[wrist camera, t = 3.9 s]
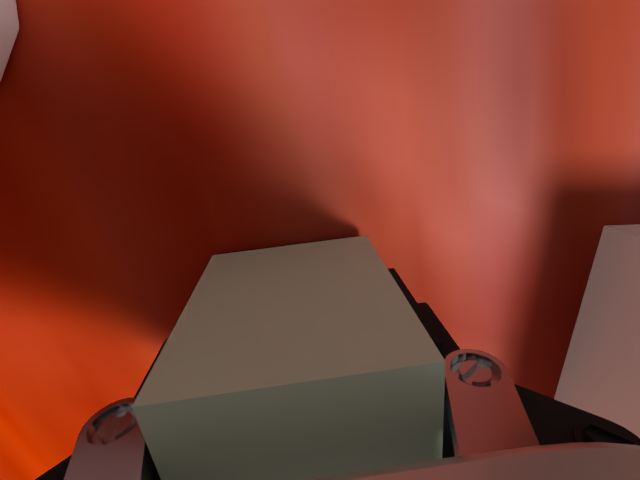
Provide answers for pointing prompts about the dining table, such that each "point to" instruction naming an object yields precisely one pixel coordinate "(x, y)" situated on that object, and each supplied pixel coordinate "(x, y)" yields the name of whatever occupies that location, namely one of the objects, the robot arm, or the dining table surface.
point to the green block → (294, 370)
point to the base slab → (608, 334)
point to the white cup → (7, 31)
